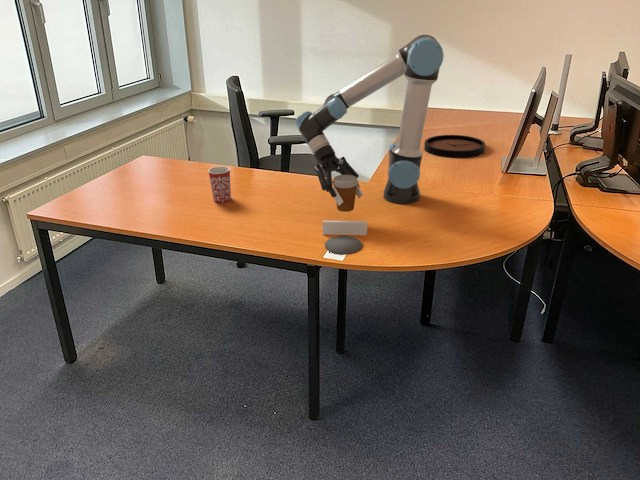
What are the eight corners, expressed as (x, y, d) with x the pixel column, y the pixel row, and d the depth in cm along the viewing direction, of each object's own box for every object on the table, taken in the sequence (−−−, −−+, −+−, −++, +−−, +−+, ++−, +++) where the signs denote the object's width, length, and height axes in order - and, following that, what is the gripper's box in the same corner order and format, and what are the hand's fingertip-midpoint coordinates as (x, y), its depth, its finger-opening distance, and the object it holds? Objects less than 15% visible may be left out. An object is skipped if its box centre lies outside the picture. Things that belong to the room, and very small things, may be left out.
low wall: (366, 233, 192) (367, 221, 190) (366, 235, 191) (367, 222, 188) (323, 233, 193) (322, 220, 191) (322, 234, 192) (322, 221, 190)
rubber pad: (362, 237, 189) (362, 236, 189) (361, 254, 178) (361, 253, 177) (326, 236, 190) (326, 235, 190) (323, 253, 179) (323, 252, 179)
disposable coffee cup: (356, 214, 194) (356, 183, 189) (330, 213, 196) (330, 182, 191) (359, 204, 203) (359, 174, 197) (335, 203, 205) (334, 173, 199)
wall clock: (418, 147, 274) (432, 132, 300) (417, 155, 276) (431, 139, 301) (480, 153, 262) (489, 137, 288) (479, 161, 264) (488, 144, 290)
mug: (233, 202, 222) (230, 172, 216) (212, 205, 220) (208, 174, 214) (232, 192, 233) (229, 162, 227) (211, 194, 231) (207, 164, 225)
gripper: (339, 149, 209) (367, 197, 205) (294, 161, 196) (324, 213, 192) (348, 138, 203) (377, 187, 198) (302, 150, 190) (333, 203, 186)
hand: (351, 200), depth 195 cm, fingers closed on disposable coffee cup, 9 cm apart
